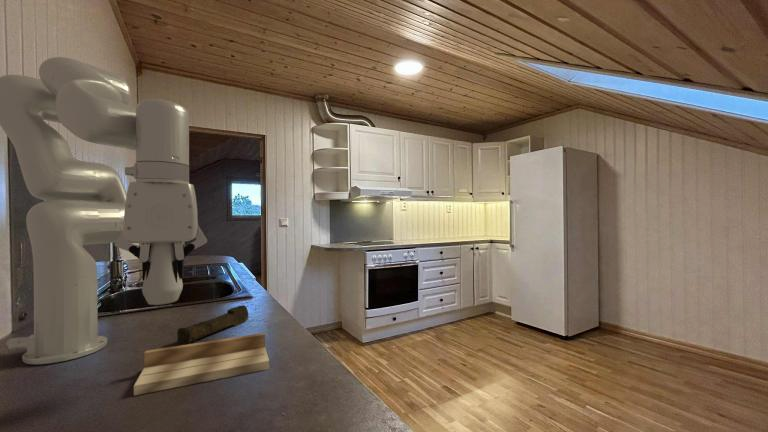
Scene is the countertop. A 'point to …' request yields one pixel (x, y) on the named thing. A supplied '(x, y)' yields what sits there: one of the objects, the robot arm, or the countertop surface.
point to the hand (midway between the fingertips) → (163, 282)
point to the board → (201, 362)
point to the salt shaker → (162, 276)
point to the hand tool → (213, 325)
